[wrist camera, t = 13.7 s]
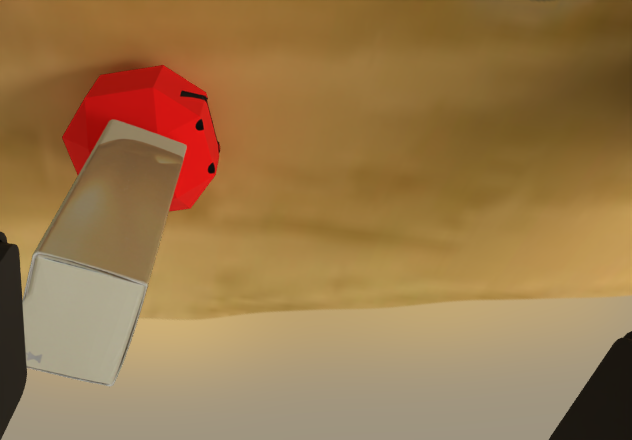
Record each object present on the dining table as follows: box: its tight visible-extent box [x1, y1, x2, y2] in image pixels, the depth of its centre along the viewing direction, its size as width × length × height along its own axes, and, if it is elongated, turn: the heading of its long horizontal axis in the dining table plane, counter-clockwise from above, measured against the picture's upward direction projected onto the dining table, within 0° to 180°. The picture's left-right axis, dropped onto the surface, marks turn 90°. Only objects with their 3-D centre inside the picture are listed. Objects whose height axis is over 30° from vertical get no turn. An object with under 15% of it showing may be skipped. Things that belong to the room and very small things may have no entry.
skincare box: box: [22, 119, 187, 386], centre depth 29 cm, size 6×4×12 cm
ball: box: [62, 65, 220, 211], centre depth 37 cm, size 8×8×8 cm
